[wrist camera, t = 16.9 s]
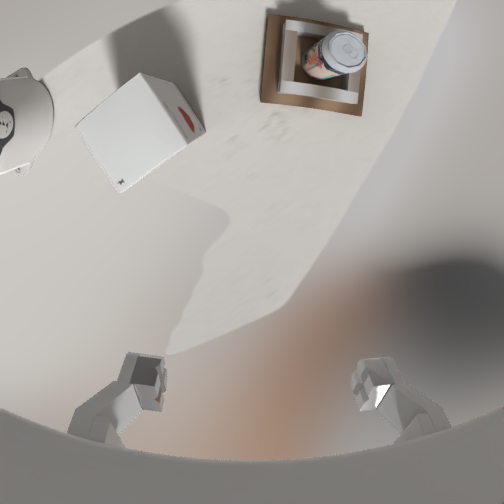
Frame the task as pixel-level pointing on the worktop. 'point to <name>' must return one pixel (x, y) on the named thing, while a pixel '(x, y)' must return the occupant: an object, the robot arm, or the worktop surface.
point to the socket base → (294, 77)
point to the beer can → (334, 56)
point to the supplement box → (139, 129)
